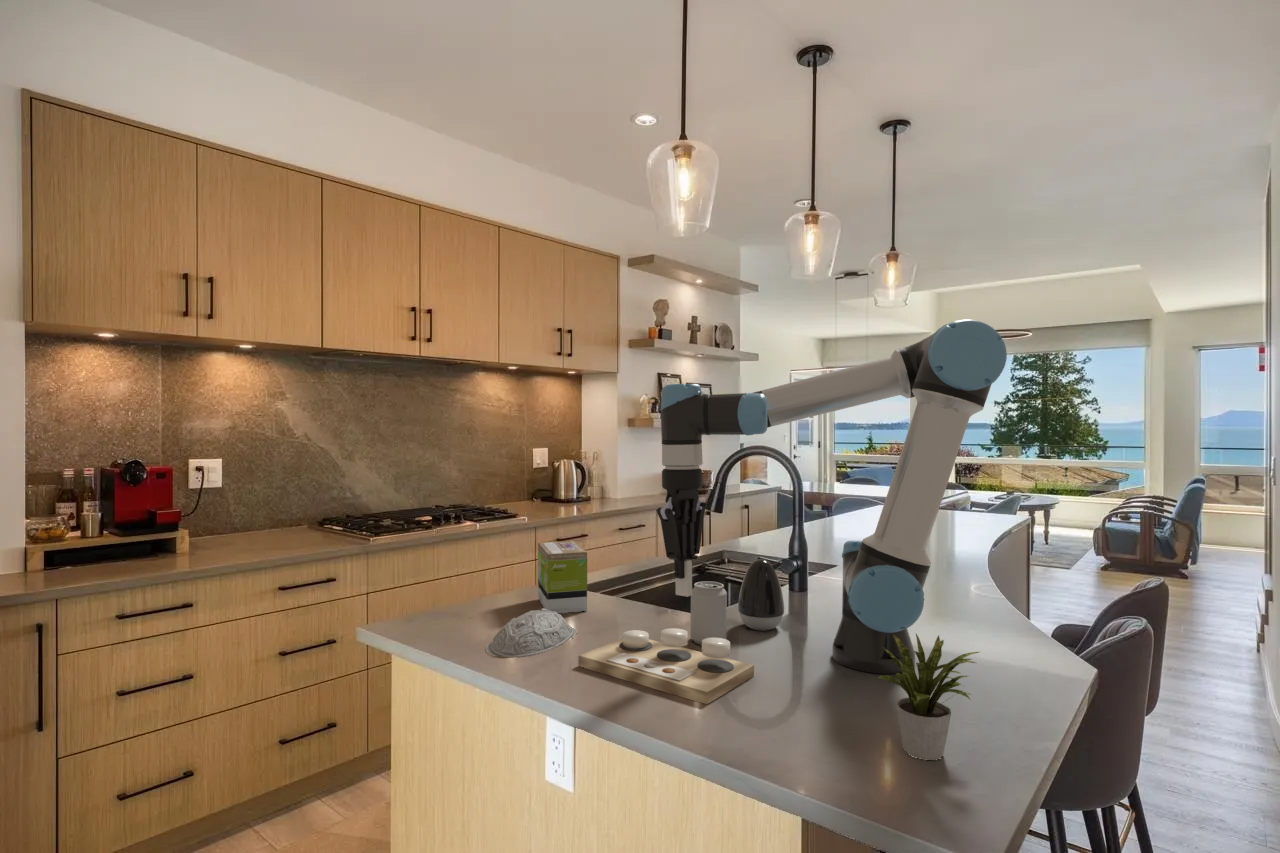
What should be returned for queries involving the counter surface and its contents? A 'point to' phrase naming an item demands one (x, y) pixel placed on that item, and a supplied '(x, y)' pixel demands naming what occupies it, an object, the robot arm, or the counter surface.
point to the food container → (531, 634)
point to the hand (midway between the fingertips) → (683, 594)
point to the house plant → (925, 699)
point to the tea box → (562, 576)
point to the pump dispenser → (761, 596)
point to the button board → (669, 669)
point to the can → (708, 611)
